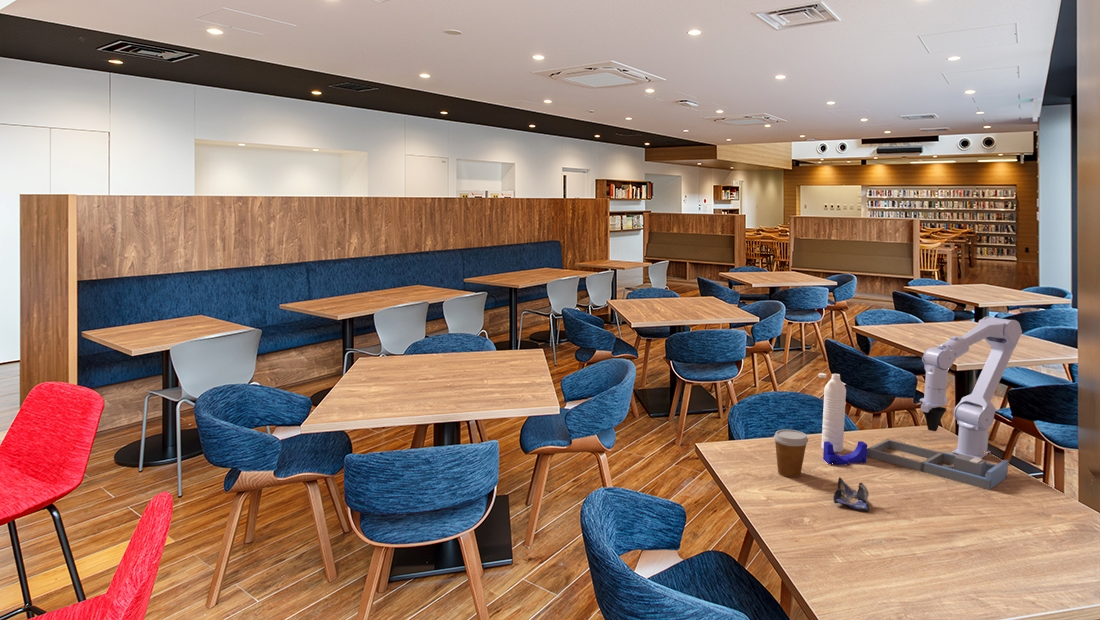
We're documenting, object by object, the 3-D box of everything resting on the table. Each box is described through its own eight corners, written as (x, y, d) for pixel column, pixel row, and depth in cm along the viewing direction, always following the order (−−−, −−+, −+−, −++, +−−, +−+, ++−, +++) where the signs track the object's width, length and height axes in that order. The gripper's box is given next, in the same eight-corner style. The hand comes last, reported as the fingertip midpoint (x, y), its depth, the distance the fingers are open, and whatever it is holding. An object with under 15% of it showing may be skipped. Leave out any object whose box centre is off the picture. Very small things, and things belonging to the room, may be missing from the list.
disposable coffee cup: (767, 468, 202) (768, 429, 200) (797, 466, 203) (799, 428, 201) (780, 480, 193) (782, 440, 191) (812, 479, 193) (814, 439, 192)
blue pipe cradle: (828, 465, 204) (829, 446, 203) (823, 460, 209) (824, 441, 208) (868, 465, 204) (869, 446, 203) (861, 459, 209) (862, 441, 208)
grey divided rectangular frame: (887, 446, 220) (888, 431, 219) (1007, 477, 194) (1008, 460, 193) (866, 456, 211) (867, 441, 210) (989, 489, 185) (990, 472, 184)
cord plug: (944, 466, 202) (946, 450, 201) (985, 477, 194) (986, 460, 193) (939, 470, 199) (940, 453, 199) (979, 480, 191) (981, 463, 190)
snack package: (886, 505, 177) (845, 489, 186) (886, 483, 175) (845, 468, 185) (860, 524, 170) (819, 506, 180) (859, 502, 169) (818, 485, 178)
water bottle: (838, 445, 221) (842, 371, 217) (846, 452, 214) (850, 376, 211) (811, 445, 221) (814, 371, 217) (818, 452, 215) (822, 376, 211)
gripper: (931, 381, 212) (928, 422, 214) (911, 388, 203) (908, 432, 205) (956, 385, 207) (952, 427, 209) (936, 393, 198) (933, 437, 200)
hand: (932, 430), depth 206 cm, fingers closed
